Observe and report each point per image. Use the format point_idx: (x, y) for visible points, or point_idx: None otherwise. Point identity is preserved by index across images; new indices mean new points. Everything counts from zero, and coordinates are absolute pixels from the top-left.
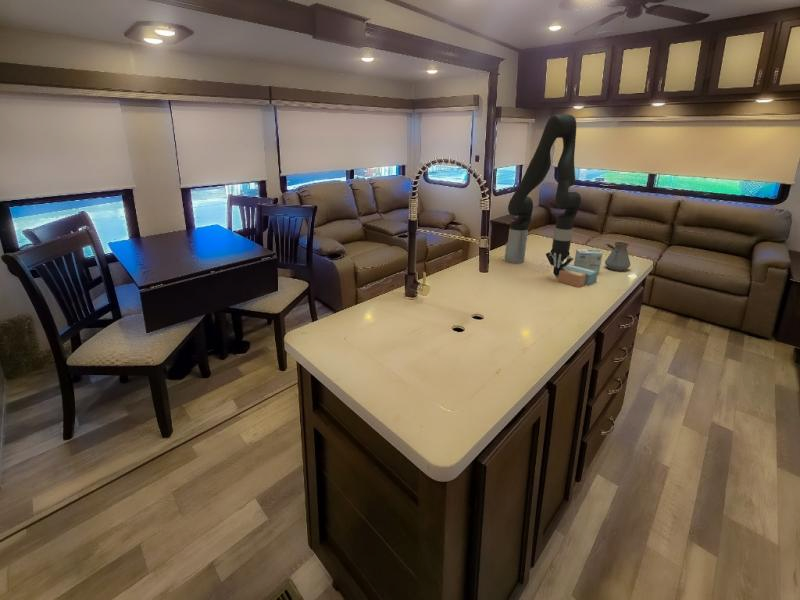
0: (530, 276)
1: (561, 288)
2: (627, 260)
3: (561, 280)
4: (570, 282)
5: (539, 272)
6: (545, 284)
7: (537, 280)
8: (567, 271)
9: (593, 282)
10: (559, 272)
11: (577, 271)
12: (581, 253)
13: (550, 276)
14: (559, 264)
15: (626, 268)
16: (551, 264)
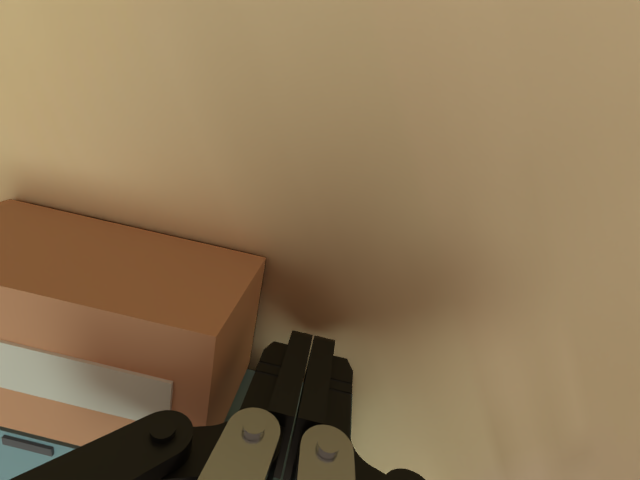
0: (632, 250)
1: (123, 18)
2: None
3: (213, 256)
4: (92, 230)
5: (543, 440)
6: (355, 37)
7: (504, 142)
8: (101, 367)
9: None
10: (221, 319)
11: (21, 443)
12: None
13: (395, 378)
14: (215, 475)
15: None
16: (405, 478)
